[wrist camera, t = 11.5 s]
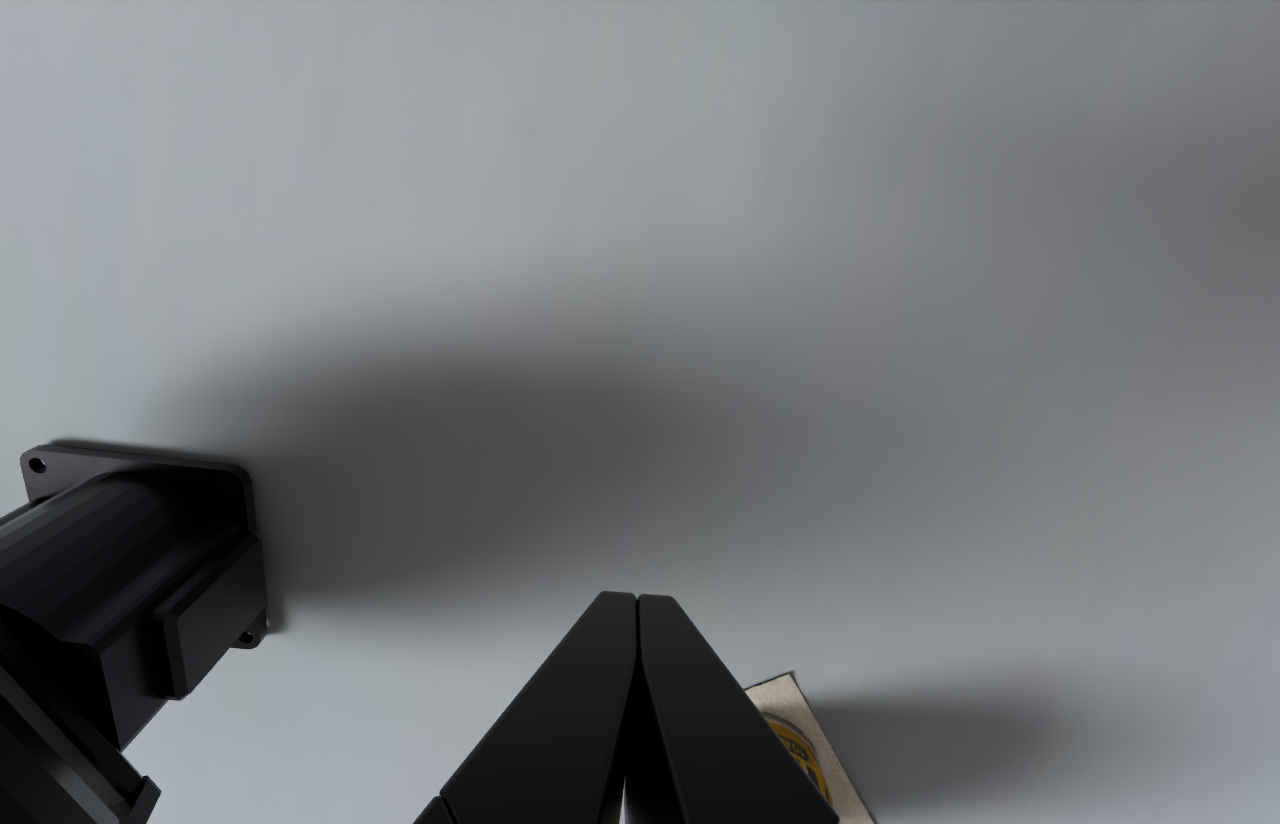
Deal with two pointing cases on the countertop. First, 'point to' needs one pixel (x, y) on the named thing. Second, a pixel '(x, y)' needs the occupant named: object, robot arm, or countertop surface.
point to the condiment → (808, 745)
